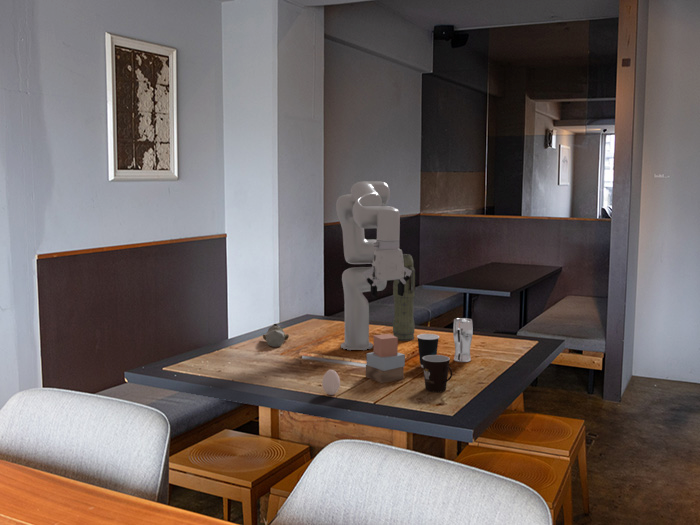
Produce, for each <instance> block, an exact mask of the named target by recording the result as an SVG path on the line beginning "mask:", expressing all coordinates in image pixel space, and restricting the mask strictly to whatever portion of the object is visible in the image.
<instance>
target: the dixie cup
mask: <svg viewBox="0 0 700 525" xmlns="http://www.w3.org/2000/svg"><path fill="white" fill-rule="evenodd" d="M416 338H417V346H418V355H419V356H418V357H419V364H420V368H422V369H423V360H422V357H424V356H427V355H438V345H439V339H440V336H439V335H438V334H435V333H421V334H418V335H416Z"/></svg>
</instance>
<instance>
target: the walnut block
mask: <svg viewBox="0 0 700 525" xmlns="http://www.w3.org/2000/svg"><path fill="white" fill-rule="evenodd" d="M404 367H405V366H404ZM404 367H399V368H395V369H390V370H386V371H383V370H380V369H377V368H374V367H371V366H368V365H367V364H365V378H367V379H370V380H373V381H374V382H377V383H380V384H385V383H391V382H394V381H400V380H401V381H402V380H404V372H405V371H404Z"/></svg>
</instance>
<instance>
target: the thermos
mask: <svg viewBox="0 0 700 525" xmlns="http://www.w3.org/2000/svg"><path fill="white" fill-rule="evenodd" d="M402 254H403V260H404V267H406V268H408V269H409V270H411V271H412V273H411V275H410V277H409V279H408V280H407V282H406V284H404V294H403V296H400V295H398V283H399V281H398V280H392V281H393V282H392V283H393V284H392V290H393V291H392V297H393V302H394V303H393V309H394V310H393V318H394V319H393V321H392V335H393V336H395V337H397V338H398V341H400V342H401V341H403V342H404V341H413V340H414V339H415V337H414V336H415V324H416V323H415V320H414V298H415V288H416V269H415V267H414V259H413V256H412V255H411V254H410V253H402ZM405 275H406V272H405V271H404V276H405Z"/></svg>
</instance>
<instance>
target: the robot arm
mask: <svg viewBox="0 0 700 525" xmlns="http://www.w3.org/2000/svg"><path fill="white" fill-rule="evenodd" d="M390 198H391V190H390V187H389V185H388V184H387V183H386V182H384V181H379V180H378V181H375V180H373V181H371V180H370V181H369V180H368V181H367V180H363V181H358V182H355V183H354V184H353V185H352V186H351V188H350V193H348V194H343V195H340V196H339V197H338V198H337V200H336V203H335V204H336V205H335V207H336V214H337V218H338V221H339V223H340V225H341V230H342V244H343V254H344V260H345V262H346V263H348V264H350V265H366V264H368V265H369V264H371V265H372V266H367V267H366V266H359V267H358V266H357V267H355V266H354V267H349V268H347V269H345V270H344V271H343V272H342V274H341V282H342V287H343V288H342V290H343V299H344V300H343V301H344V342H342V343H340V348H341V349H342V348H343V349H342V350H345V349H347V351H351V350H363V351H368V350H367V349H369V350H371V349H373V348H374V343H372V342H370V308H369V306H370V305H369V300H368V299H367V298H366V296H365V295H364V294H363V293H367V292H370V295H371V298H373V299H378V292H380V291H381V292H382V291H384V290H385V289H386V288H387V283H388V281H393V280H398V281H399V283H398V295H400V296H403V294H404V284H406V282H407V280H408V279H409V277H410V275H411V273H412V271H411V270H409V269H408V268H406V267H404V260H403V254H404V253H403V250H402V249H400V231H401V230H400V227H401V224H400V222H401V220H400V219H401V218H400V217H401V214H400V210H399V208H395V207H394V206H390V205H389V206H388V203H389V201H390ZM368 229H376V239H373V238H372V239H366V238H365V230H368ZM404 271H405V272H406V275H405V276H404Z"/></svg>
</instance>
